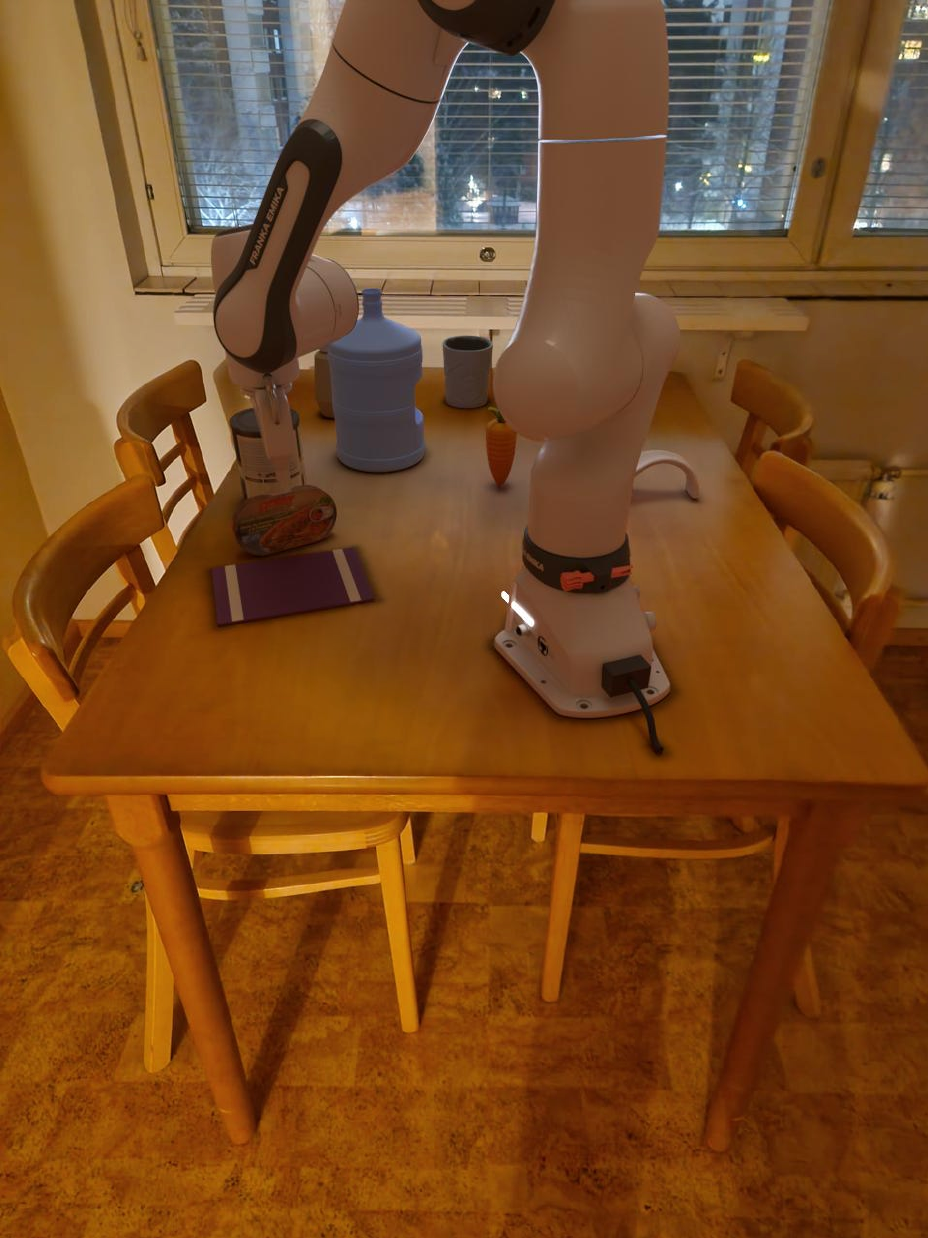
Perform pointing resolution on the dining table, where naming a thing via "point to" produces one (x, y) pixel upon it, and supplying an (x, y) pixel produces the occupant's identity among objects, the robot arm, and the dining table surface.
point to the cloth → (289, 586)
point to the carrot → (500, 447)
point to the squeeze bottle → (323, 382)
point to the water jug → (377, 392)
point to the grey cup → (467, 370)
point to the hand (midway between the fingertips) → (279, 465)
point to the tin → (283, 519)
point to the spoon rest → (668, 457)
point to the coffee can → (262, 456)
